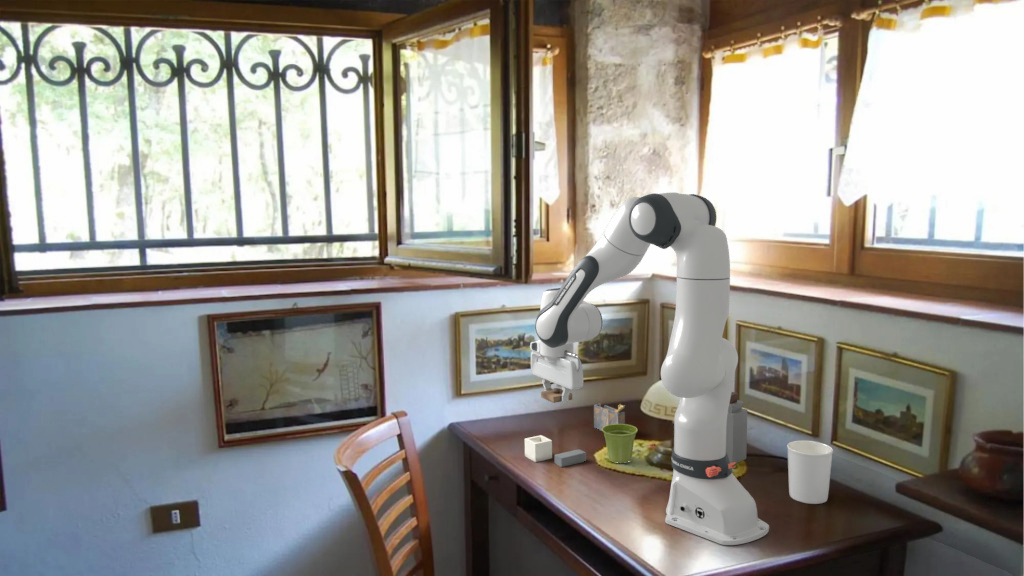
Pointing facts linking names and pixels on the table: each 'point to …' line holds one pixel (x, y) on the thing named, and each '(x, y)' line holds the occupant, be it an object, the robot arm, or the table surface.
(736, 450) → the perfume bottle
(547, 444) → the white open box
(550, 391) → the lid
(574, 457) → the gray rectangular block
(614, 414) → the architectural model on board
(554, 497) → the table surface
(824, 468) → the candle holder
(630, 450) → the plant pot
